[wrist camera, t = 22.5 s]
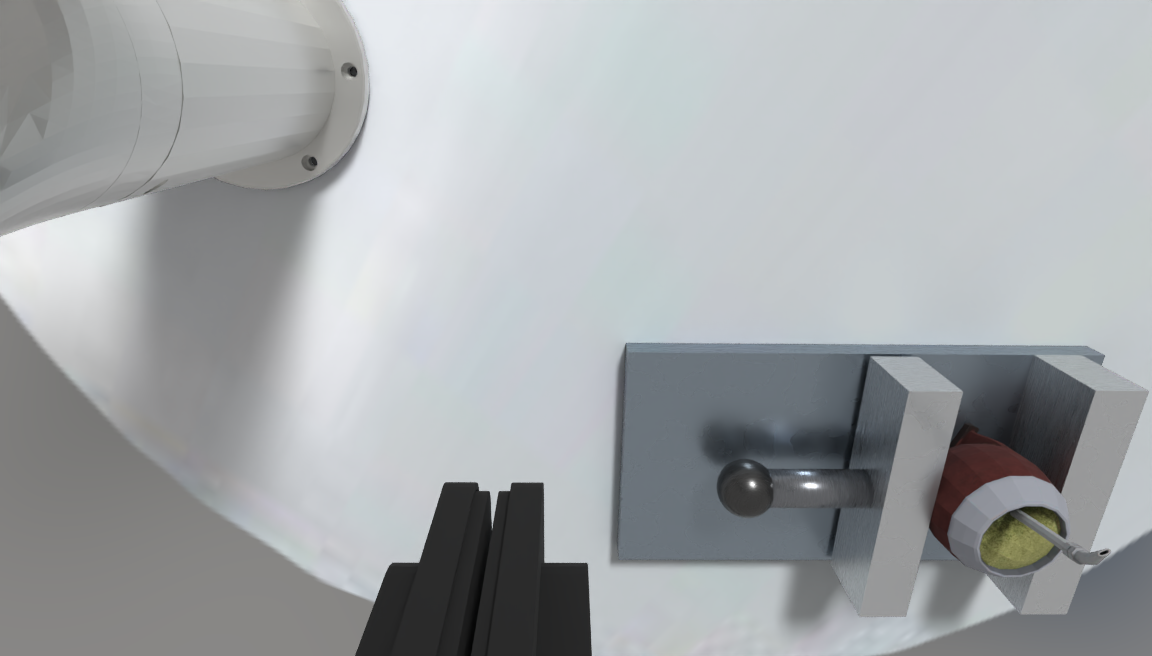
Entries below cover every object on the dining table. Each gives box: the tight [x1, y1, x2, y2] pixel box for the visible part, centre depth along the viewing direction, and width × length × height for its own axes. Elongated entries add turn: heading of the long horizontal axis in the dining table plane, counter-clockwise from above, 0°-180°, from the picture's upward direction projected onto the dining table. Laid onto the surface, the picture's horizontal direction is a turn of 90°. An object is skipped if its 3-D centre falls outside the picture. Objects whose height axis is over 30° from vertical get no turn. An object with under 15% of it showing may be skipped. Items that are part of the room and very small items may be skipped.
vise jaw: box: [716, 356, 963, 617], centre depth 40 cm, size 12×16×5 cm
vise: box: [617, 343, 1149, 614], centre depth 41 cm, size 30×16×6 cm, turn 89°
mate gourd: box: [929, 423, 1111, 577], centre depth 36 cm, size 8×8×15 cm
